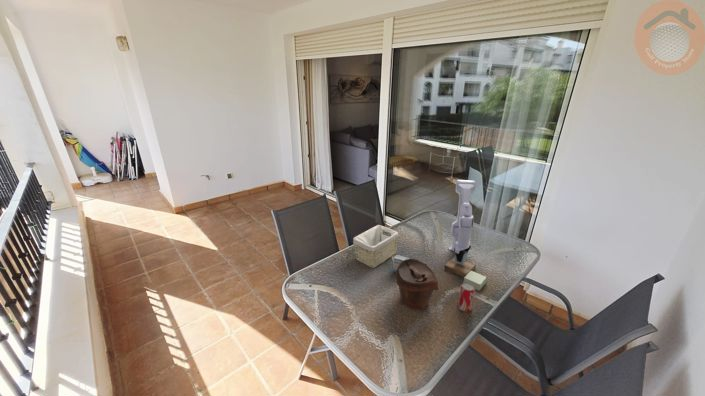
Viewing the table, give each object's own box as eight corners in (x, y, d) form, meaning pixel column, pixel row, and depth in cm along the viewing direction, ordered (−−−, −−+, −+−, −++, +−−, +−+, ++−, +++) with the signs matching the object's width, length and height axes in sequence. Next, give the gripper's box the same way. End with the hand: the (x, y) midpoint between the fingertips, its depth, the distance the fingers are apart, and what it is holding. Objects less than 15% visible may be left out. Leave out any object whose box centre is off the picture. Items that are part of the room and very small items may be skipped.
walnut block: (454, 260, 162) (455, 256, 161) (475, 268, 154) (475, 264, 153) (444, 269, 154) (444, 265, 153) (465, 278, 146) (466, 274, 145)
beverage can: (465, 315, 123) (468, 293, 118) (454, 306, 128) (457, 284, 123) (475, 310, 125) (478, 288, 121) (464, 301, 130) (467, 280, 126)
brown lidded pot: (430, 321, 120) (433, 286, 113) (387, 304, 130) (388, 271, 124) (441, 297, 134) (445, 265, 128) (402, 283, 144) (404, 253, 138)
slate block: (458, 258, 156) (459, 248, 154) (466, 261, 153) (467, 251, 151) (454, 261, 153) (455, 252, 151) (462, 264, 150) (463, 255, 148)
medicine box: (393, 271, 153) (393, 258, 150) (395, 267, 157) (396, 254, 153) (407, 275, 149) (407, 261, 146) (409, 271, 153) (410, 257, 150)
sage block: (470, 276, 148) (470, 270, 146) (485, 283, 142) (486, 277, 141) (463, 284, 142) (464, 277, 141) (479, 291, 137) (480, 284, 136)
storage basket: (372, 270, 154) (373, 247, 149) (352, 259, 165) (351, 237, 160) (398, 253, 170) (399, 231, 165) (378, 244, 181) (378, 223, 175)
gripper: (462, 230, 154) (460, 251, 159) (450, 239, 145) (447, 262, 150) (475, 234, 150) (472, 256, 155) (463, 244, 140) (460, 267, 145)
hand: (461, 259), depth 152 cm, fingers closed on slate block, 4 cm apart
